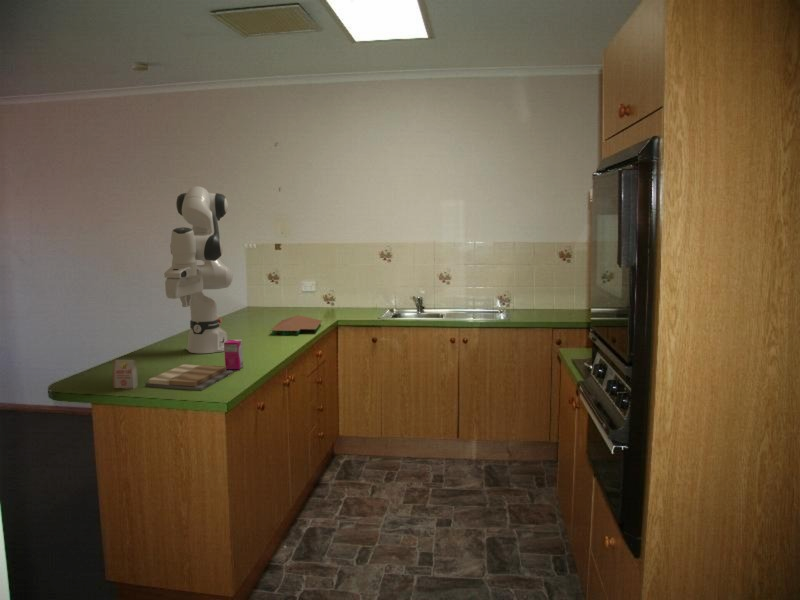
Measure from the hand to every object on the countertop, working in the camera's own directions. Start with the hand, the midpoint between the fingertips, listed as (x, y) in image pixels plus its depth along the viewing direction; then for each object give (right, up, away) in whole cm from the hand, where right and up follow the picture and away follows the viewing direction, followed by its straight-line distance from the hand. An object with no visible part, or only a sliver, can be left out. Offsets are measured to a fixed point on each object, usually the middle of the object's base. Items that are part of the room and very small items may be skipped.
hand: (186, 306), depth 217 cm
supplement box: (+16, -25, +9) cm, 31 cm away
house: (+27, -14, +91) cm, 96 cm away
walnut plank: (+8, -26, -7) cm, 28 cm away
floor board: (+4, -27, -7) cm, 28 cm away
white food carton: (-15, -29, -17) cm, 37 cm away
